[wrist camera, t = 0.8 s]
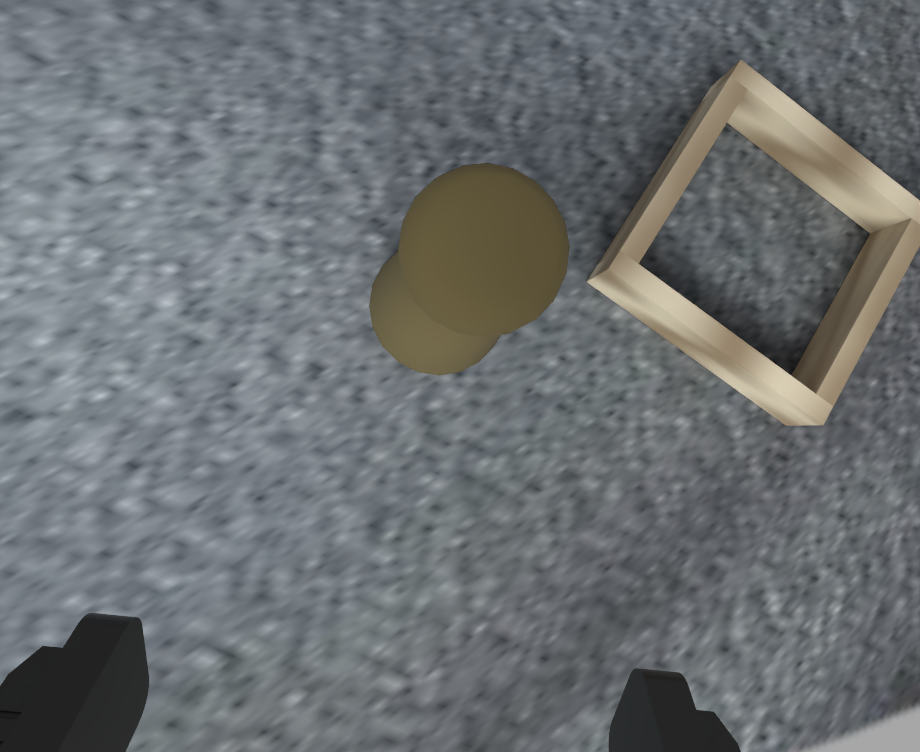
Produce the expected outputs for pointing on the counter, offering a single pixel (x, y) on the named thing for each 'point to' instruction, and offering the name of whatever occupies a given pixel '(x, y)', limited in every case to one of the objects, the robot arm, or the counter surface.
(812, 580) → the counter surface
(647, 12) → the counter surface
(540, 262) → the cork
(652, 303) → the wooden square frame
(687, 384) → the counter surface
